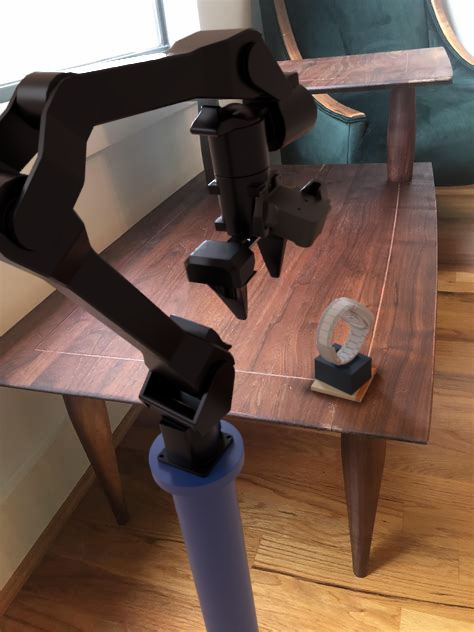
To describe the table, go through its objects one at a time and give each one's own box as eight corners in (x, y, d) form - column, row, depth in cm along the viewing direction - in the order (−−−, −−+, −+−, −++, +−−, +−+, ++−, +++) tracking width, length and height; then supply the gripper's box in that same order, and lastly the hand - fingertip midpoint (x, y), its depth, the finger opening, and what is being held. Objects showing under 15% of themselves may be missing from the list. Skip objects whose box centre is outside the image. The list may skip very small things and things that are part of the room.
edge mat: (360, 402, 66) (360, 398, 66) (311, 390, 69) (310, 386, 68) (376, 371, 70) (376, 368, 70) (329, 361, 73) (329, 357, 73)
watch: (380, 370, 70) (382, 295, 64) (342, 403, 65) (341, 326, 59) (343, 354, 73) (342, 282, 68) (305, 385, 69) (301, 310, 63)
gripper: (278, 212, 45) (294, 359, 54) (347, 137, 58) (351, 265, 67) (166, 204, 50) (197, 339, 59) (253, 137, 63) (268, 256, 72)
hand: (259, 297), depth 64 cm, fingers open, 9 cm apart
